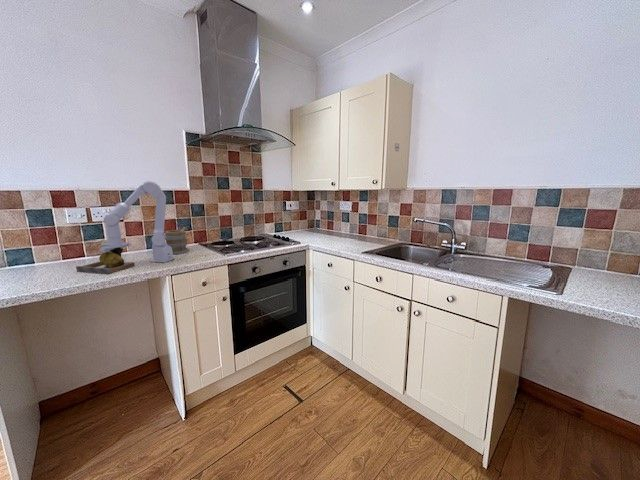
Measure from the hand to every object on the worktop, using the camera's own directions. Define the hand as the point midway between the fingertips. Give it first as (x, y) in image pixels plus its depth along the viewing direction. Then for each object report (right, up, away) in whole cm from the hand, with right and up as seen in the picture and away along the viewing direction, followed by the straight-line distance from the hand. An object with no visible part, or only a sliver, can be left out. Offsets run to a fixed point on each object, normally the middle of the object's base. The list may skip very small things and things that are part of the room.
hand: (118, 261), depth 142 cm
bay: (-1, -3, -6) cm, 7 cm away
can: (-11, 0, +10) cm, 15 cm away
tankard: (+17, +4, +32) cm, 36 cm away
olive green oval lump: (+1, -2, -4) cm, 5 cm away
